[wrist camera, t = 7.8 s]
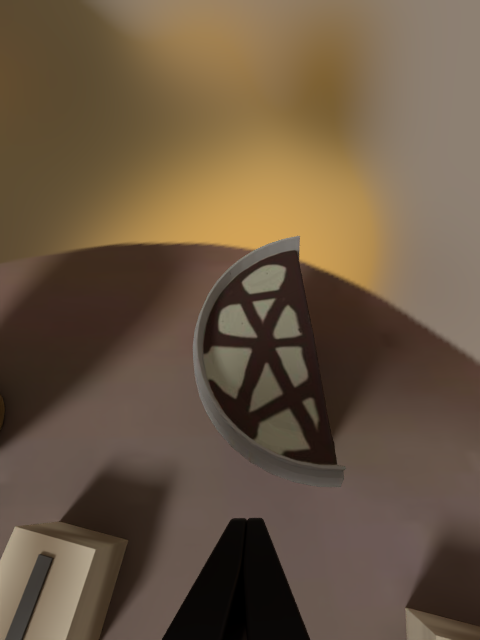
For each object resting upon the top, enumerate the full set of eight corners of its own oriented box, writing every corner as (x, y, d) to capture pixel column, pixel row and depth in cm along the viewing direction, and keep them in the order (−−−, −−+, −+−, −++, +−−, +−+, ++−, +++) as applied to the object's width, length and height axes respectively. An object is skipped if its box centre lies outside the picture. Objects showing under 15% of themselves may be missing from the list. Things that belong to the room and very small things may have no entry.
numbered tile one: (129, 539, 20) (94, 549, 16) (97, 647, 17) (48, 686, 14) (60, 521, 21) (13, 526, 17) (22, 620, 18) (-42, 650, 15)
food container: (219, 326, 26) (186, 242, 18) (293, 318, 26) (298, 228, 17) (223, 496, 20) (176, 496, 11) (321, 489, 20) (349, 486, 11)
